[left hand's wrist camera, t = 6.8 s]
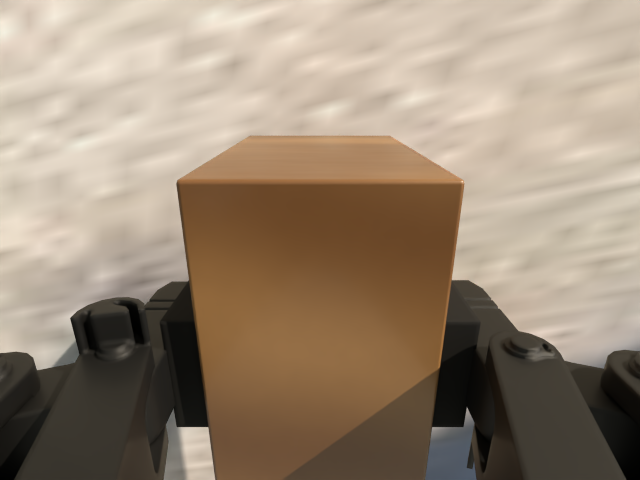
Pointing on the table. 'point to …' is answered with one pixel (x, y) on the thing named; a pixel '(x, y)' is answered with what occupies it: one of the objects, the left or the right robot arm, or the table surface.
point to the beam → (320, 304)
